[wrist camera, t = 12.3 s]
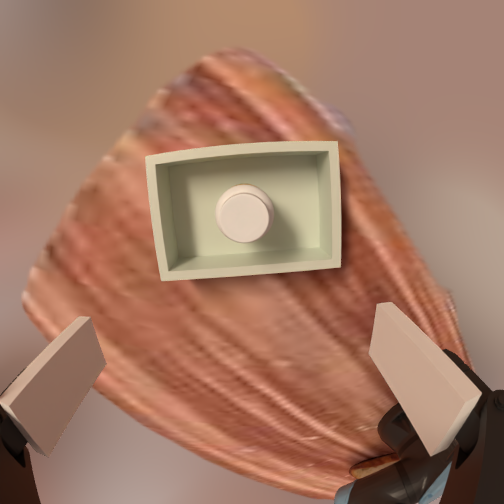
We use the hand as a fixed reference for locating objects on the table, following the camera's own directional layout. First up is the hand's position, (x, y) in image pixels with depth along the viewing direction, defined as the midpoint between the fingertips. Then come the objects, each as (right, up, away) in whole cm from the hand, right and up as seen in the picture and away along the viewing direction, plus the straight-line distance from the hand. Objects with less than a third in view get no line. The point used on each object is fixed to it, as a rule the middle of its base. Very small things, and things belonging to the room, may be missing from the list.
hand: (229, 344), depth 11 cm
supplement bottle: (0, +9, +20) cm, 22 cm away
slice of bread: (+38, -54, +40) cm, 77 cm away
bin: (0, +9, +21) cm, 23 cm away
